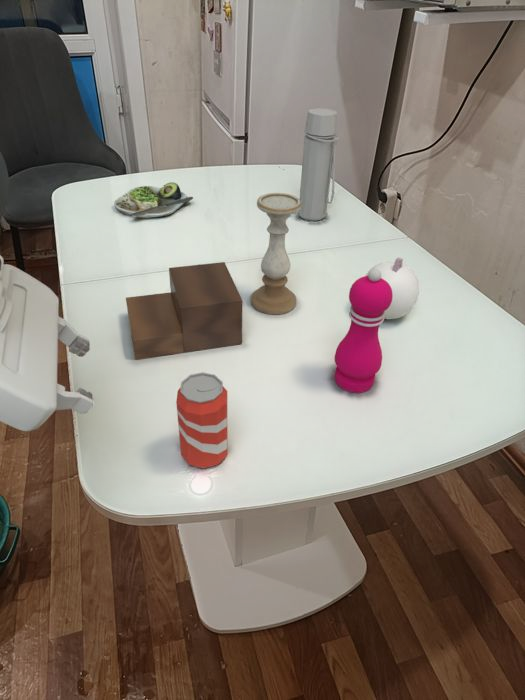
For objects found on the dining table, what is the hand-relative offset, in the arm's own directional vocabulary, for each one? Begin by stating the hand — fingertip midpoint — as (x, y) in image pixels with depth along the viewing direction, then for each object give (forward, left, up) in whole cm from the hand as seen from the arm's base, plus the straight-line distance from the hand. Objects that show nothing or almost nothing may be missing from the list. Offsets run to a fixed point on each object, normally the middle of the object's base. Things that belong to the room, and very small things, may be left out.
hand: (88, 375), depth 56 cm
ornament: (+21, +53, -17) cm, 60 cm away
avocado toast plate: (-46, +72, -17) cm, 87 cm away
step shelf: (-9, +30, -16) cm, 36 cm away
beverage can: (+9, +8, -17) cm, 21 cm away
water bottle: (-7, +87, -17) cm, 89 cm away
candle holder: (+1, +46, -17) cm, 49 cm away
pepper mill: (+22, +32, -17) cm, 43 cm away
